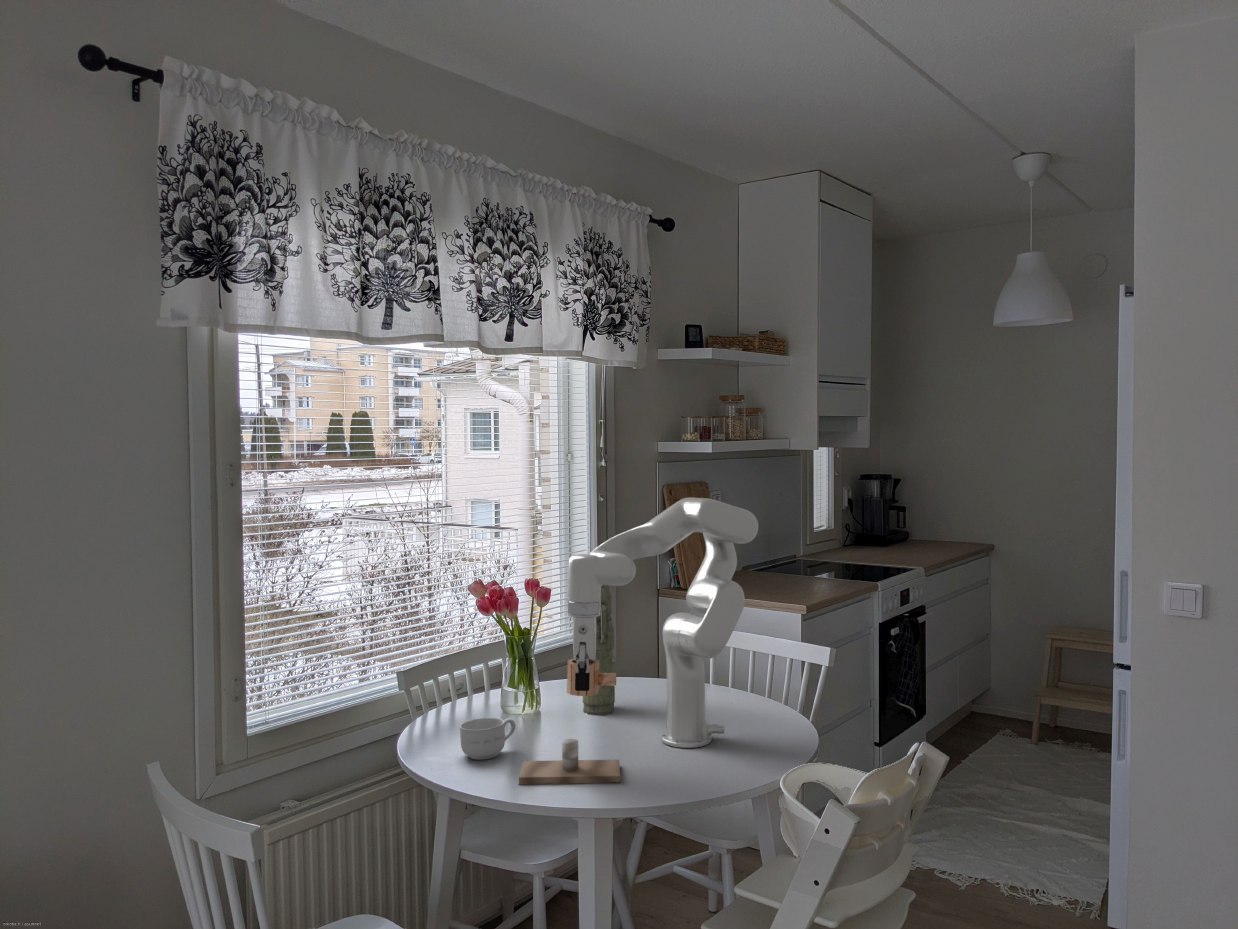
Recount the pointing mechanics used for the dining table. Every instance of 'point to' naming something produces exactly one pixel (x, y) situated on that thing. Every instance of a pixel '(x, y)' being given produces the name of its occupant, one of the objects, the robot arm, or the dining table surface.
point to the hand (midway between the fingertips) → (582, 685)
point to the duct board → (570, 777)
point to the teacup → (484, 737)
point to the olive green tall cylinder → (603, 659)
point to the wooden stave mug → (594, 680)
